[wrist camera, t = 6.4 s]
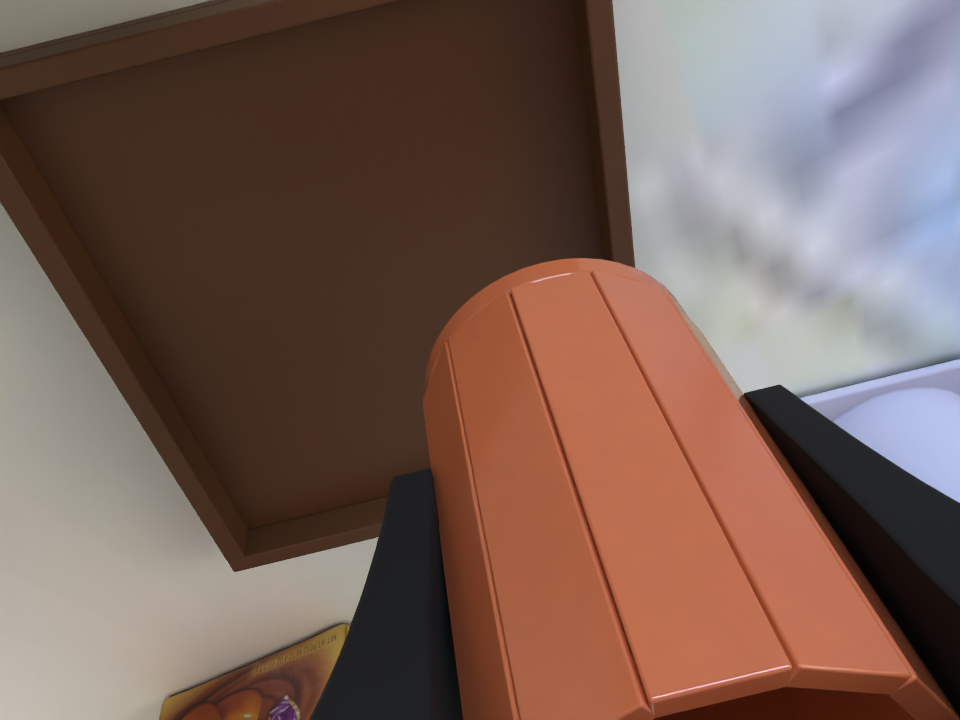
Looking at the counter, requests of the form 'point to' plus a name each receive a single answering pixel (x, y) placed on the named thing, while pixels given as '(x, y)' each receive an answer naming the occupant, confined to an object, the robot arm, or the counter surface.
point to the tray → (305, 224)
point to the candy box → (265, 685)
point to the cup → (637, 524)
